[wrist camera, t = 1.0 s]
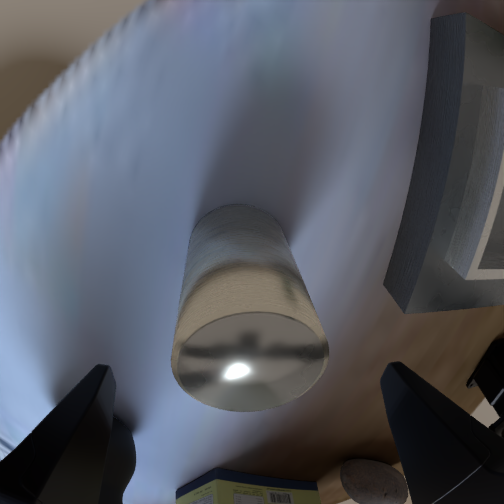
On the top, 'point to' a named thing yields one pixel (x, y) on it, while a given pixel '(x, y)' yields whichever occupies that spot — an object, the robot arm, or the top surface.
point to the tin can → (245, 316)
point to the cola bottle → (117, 464)
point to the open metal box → (456, 177)
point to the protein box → (246, 490)
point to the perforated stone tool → (373, 482)
